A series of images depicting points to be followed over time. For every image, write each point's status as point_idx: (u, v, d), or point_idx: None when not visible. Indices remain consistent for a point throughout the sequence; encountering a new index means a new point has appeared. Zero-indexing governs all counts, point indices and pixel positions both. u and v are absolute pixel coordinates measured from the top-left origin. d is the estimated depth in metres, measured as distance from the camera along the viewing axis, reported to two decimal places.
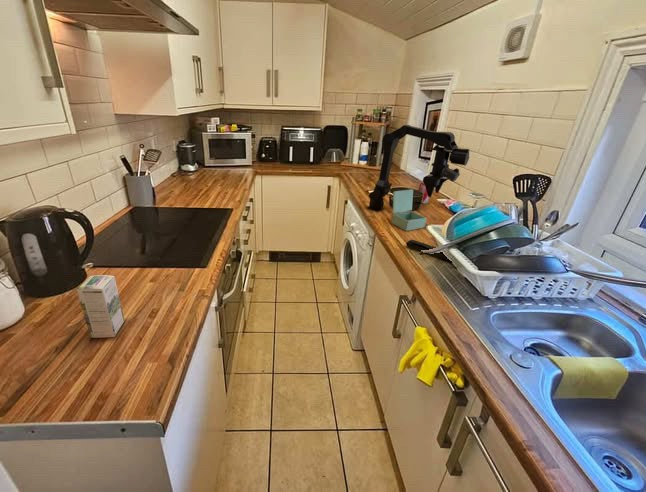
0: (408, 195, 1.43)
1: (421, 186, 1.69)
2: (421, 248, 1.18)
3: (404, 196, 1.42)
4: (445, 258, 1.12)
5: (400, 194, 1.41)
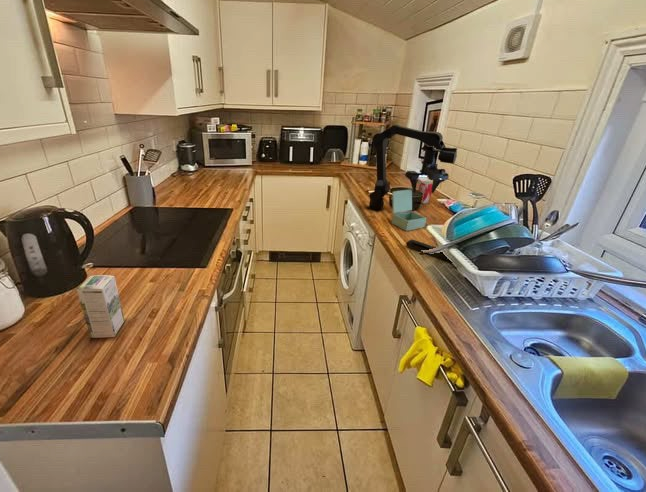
0: (407, 195, 1.44)
1: (421, 186, 1.69)
2: (421, 248, 1.18)
3: (403, 196, 1.43)
4: (445, 258, 1.12)
5: (399, 194, 1.42)
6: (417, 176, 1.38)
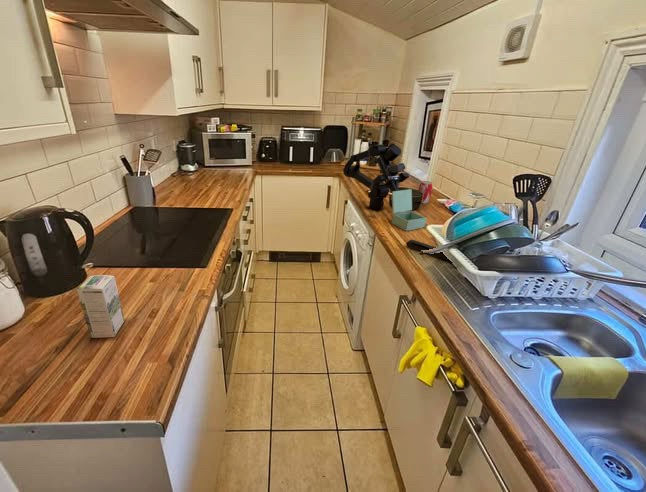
0: (407, 195, 1.44)
1: (421, 186, 1.69)
2: (421, 248, 1.18)
3: (403, 196, 1.43)
4: (445, 258, 1.12)
5: (398, 194, 1.42)
6: (384, 176, 1.43)
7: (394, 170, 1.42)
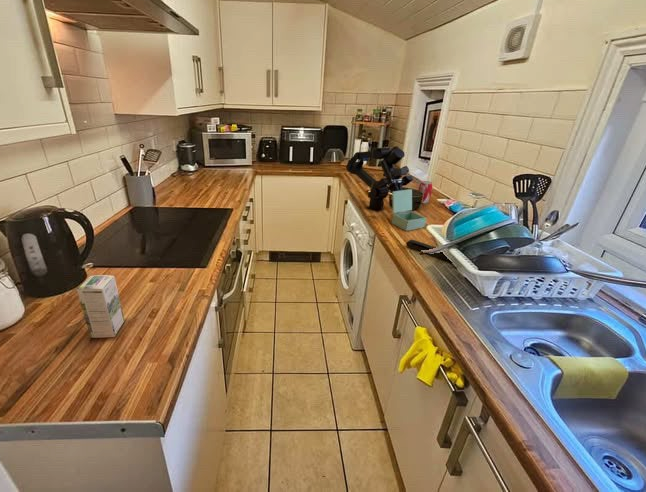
0: (407, 195, 1.44)
1: (421, 186, 1.69)
2: (421, 248, 1.18)
3: (403, 196, 1.43)
4: (445, 258, 1.12)
5: (399, 194, 1.42)
6: (388, 179, 1.42)
7: (398, 173, 1.40)
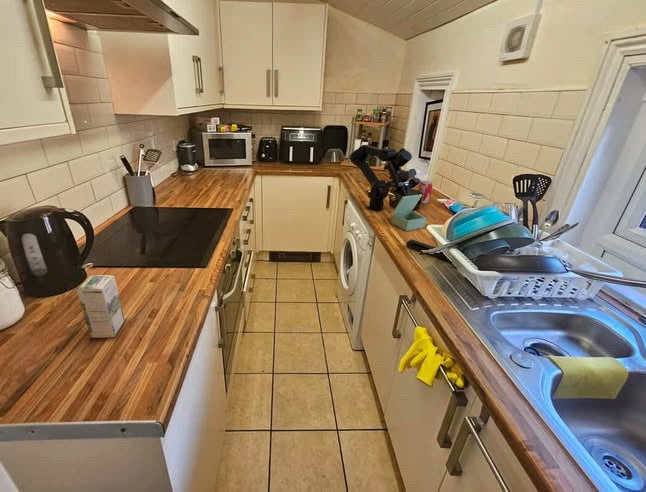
0: (415, 200, 1.40)
1: (421, 186, 1.69)
2: (421, 248, 1.18)
3: (410, 201, 1.39)
4: (445, 258, 1.12)
5: (407, 200, 1.37)
6: (395, 182, 1.38)
7: (405, 176, 1.36)
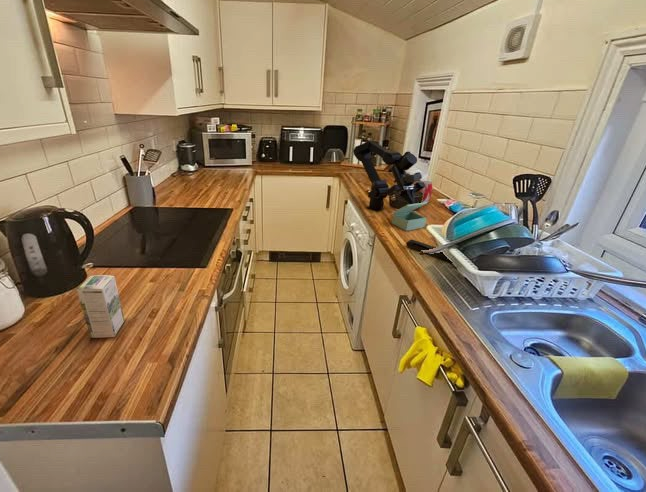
0: (418, 206, 1.39)
1: None
2: (421, 248, 1.18)
3: (414, 206, 1.38)
4: (445, 258, 1.12)
5: (411, 206, 1.36)
6: (400, 186, 1.35)
7: (410, 180, 1.34)
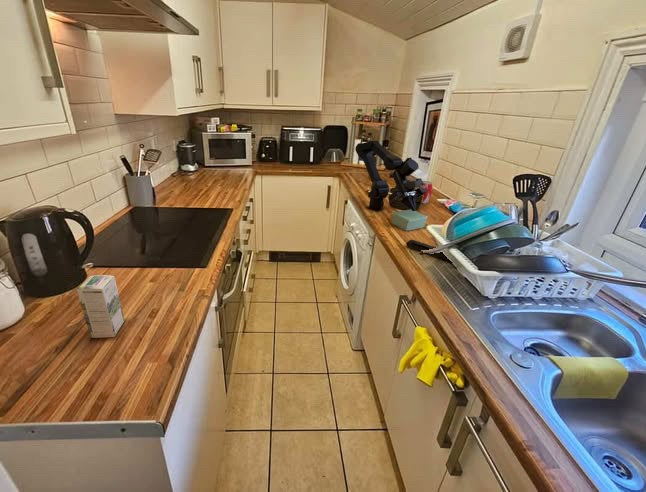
0: None
1: (421, 186, 1.69)
2: (421, 248, 1.18)
3: None
4: (445, 258, 1.12)
5: None
6: (401, 192, 1.35)
7: (411, 186, 1.34)
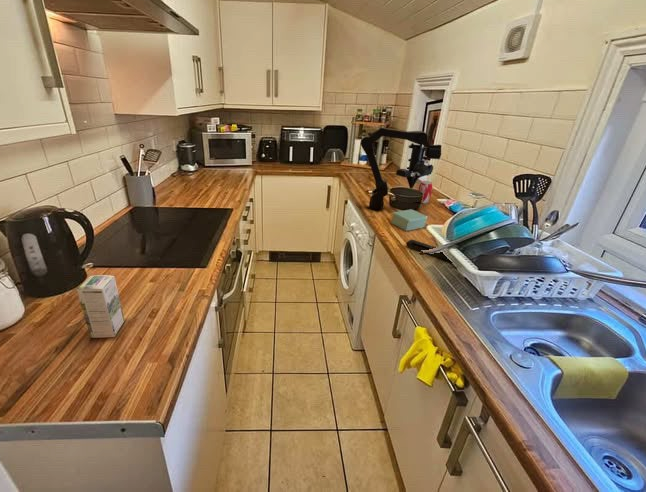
0: None
1: (421, 186, 1.69)
2: (421, 248, 1.18)
3: None
4: (445, 258, 1.12)
5: None
6: (409, 173, 1.46)
7: (420, 173, 1.44)
